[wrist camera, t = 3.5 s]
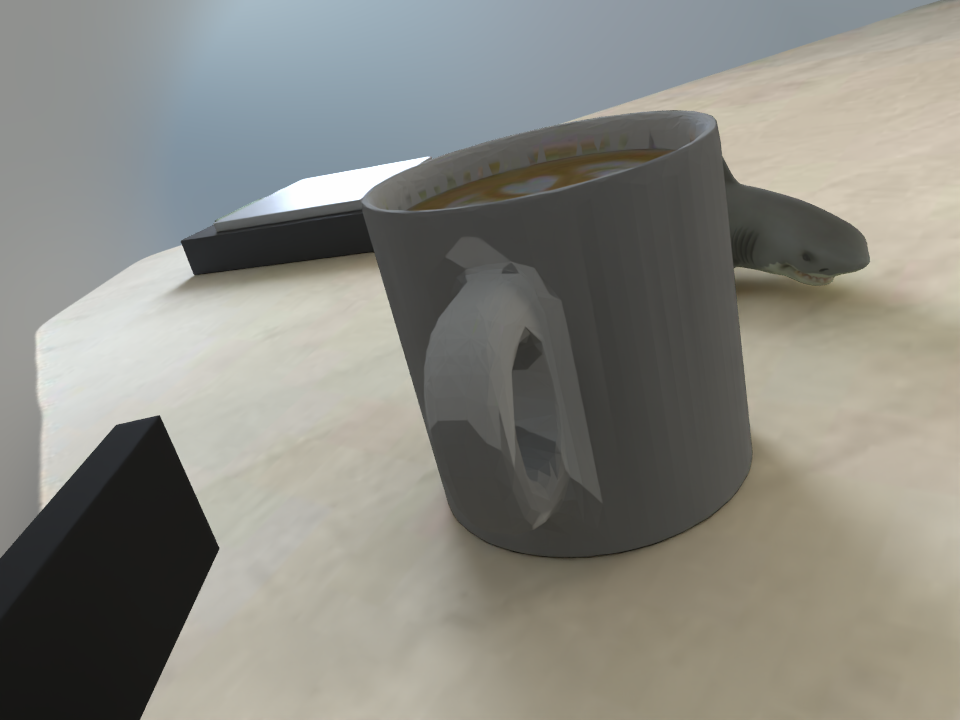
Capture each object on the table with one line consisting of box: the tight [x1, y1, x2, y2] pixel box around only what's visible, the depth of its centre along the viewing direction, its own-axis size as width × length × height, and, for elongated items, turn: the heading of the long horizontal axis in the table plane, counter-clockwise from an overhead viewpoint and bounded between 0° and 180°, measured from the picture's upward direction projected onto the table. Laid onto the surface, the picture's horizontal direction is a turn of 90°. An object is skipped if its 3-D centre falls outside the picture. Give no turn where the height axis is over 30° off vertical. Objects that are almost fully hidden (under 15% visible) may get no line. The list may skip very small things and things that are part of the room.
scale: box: [181, 157, 432, 275], centre depth 67 cm, size 20×16×4 cm
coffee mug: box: [361, 110, 752, 557], centre depth 22 cm, size 13×10×10 cm
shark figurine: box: [722, 157, 870, 286], centre depth 35 cm, size 14×17×8 cm
